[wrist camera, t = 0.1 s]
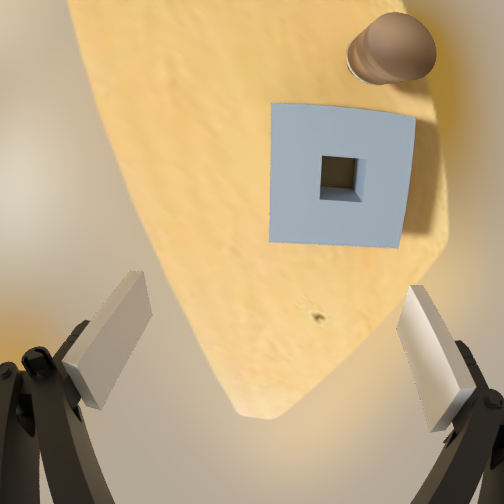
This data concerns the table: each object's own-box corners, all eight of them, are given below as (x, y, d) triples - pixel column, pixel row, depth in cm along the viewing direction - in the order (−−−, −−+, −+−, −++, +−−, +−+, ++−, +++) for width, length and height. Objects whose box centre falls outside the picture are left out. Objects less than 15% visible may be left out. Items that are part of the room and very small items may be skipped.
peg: (338, 39, 31) (366, 5, 17) (385, 45, 30) (435, 21, 17) (338, 84, 33) (368, 73, 20) (385, 90, 33) (436, 86, 20)
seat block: (273, 103, 36) (271, 103, 30) (398, 114, 34) (416, 117, 29) (271, 223, 43) (269, 242, 37) (385, 229, 41) (398, 248, 36)
